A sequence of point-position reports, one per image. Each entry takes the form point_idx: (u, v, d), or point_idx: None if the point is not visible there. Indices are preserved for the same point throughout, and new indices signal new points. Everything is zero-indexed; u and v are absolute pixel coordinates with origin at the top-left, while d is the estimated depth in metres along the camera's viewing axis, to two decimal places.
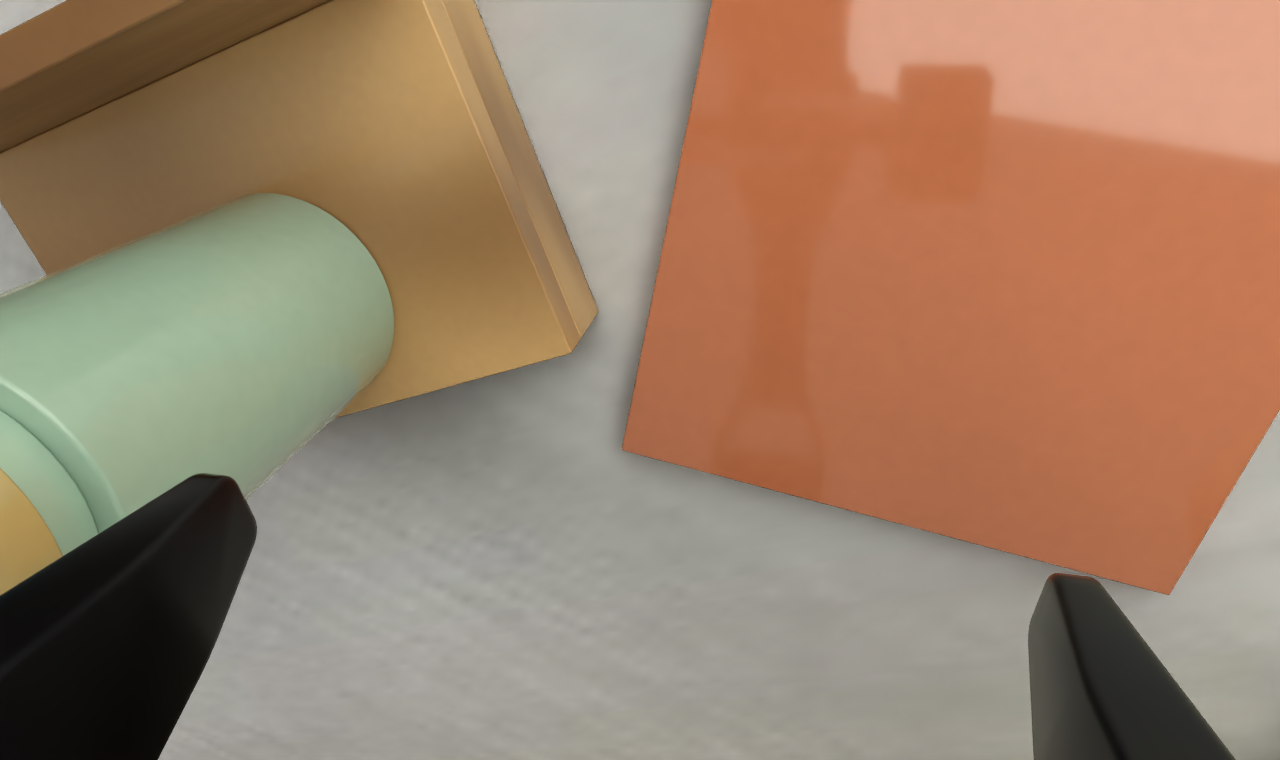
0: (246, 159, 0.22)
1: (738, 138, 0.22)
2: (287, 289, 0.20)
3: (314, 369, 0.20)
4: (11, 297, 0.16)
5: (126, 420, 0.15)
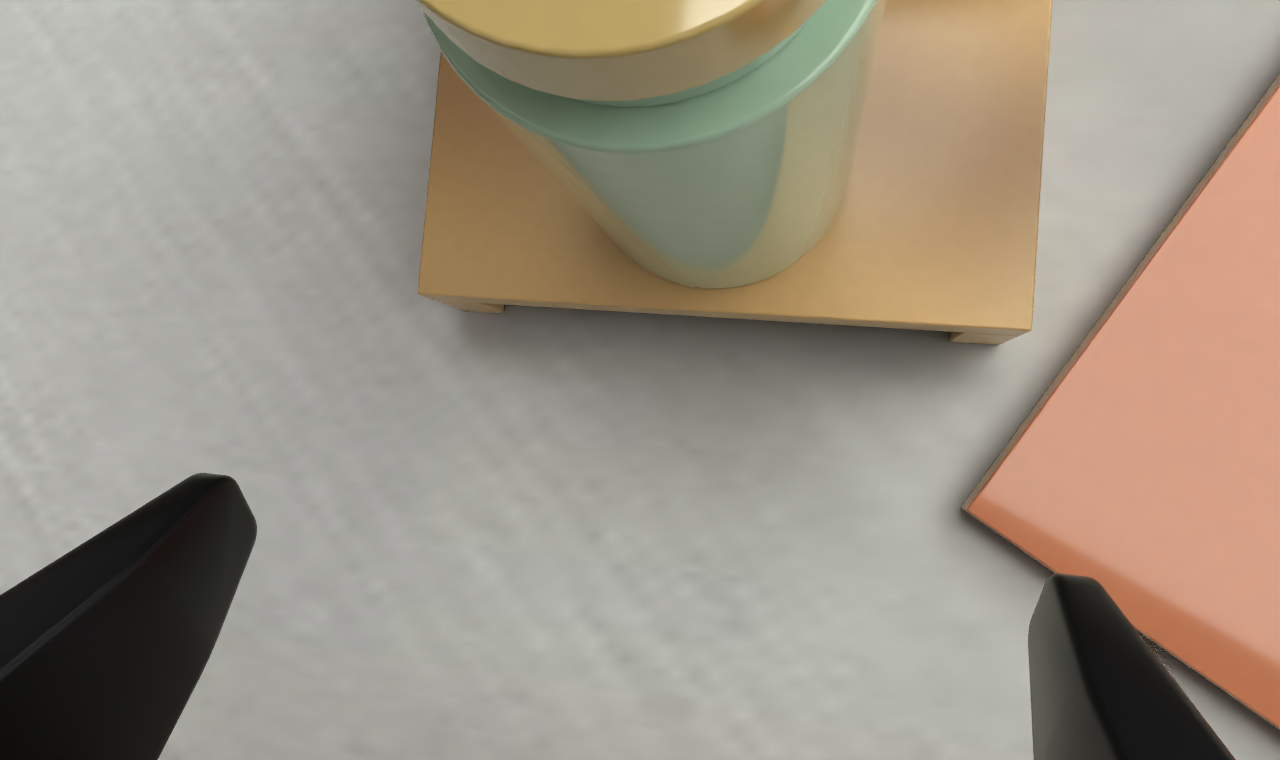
0: None
1: (1266, 204, 0.20)
2: None
3: (853, 145, 0.16)
4: None
5: None
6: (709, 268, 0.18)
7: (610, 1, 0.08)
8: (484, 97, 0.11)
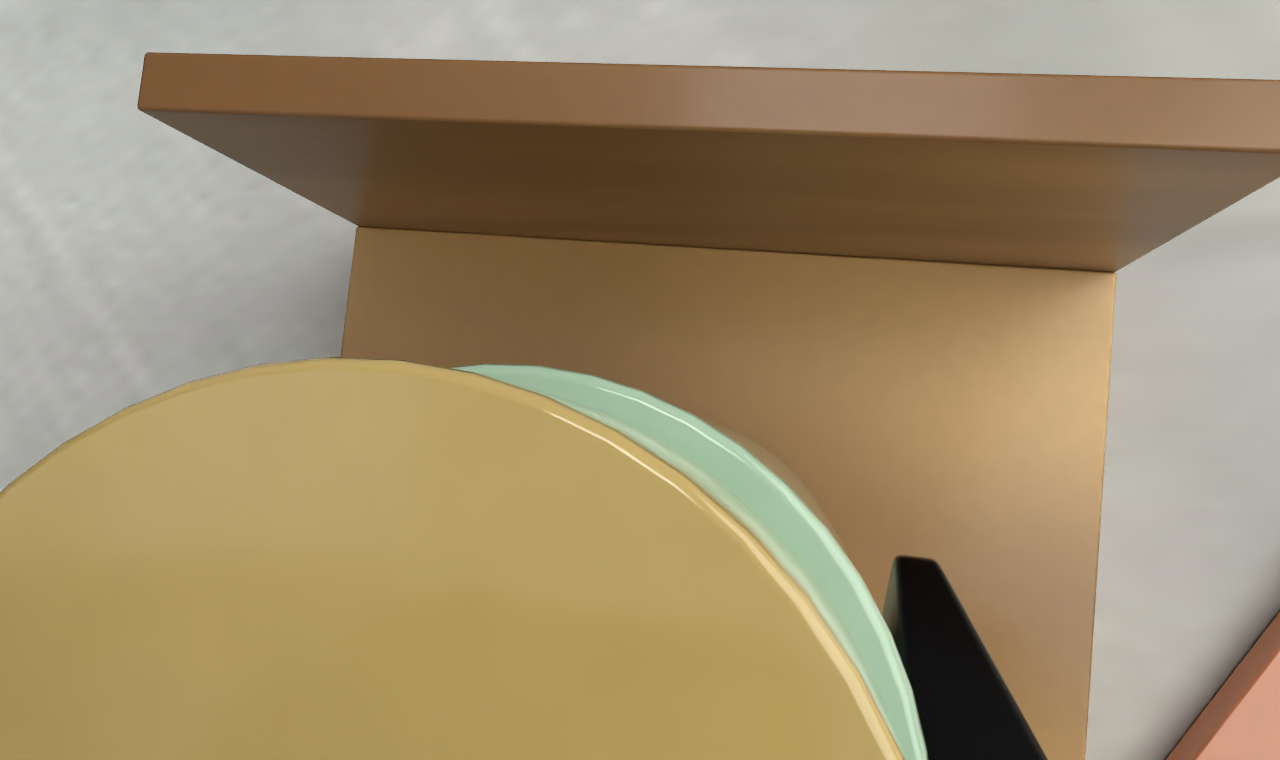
0: (741, 384, 0.16)
1: None
2: None
3: None
4: None
5: None
6: None
7: None
8: None
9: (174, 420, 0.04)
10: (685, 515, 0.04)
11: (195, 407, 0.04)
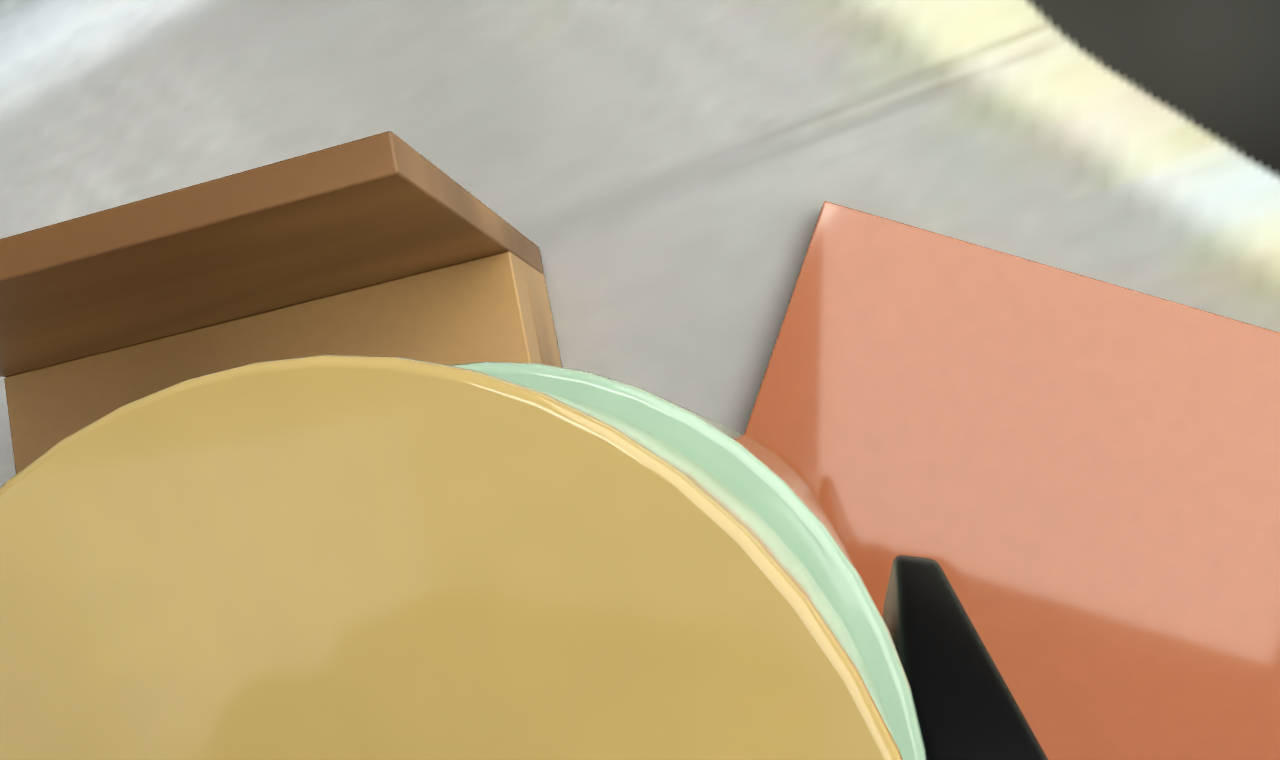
0: None
1: (792, 460, 0.22)
2: None
3: None
4: None
5: None
6: None
7: None
8: None
9: (172, 417, 0.04)
10: (682, 511, 0.04)
11: (193, 404, 0.04)
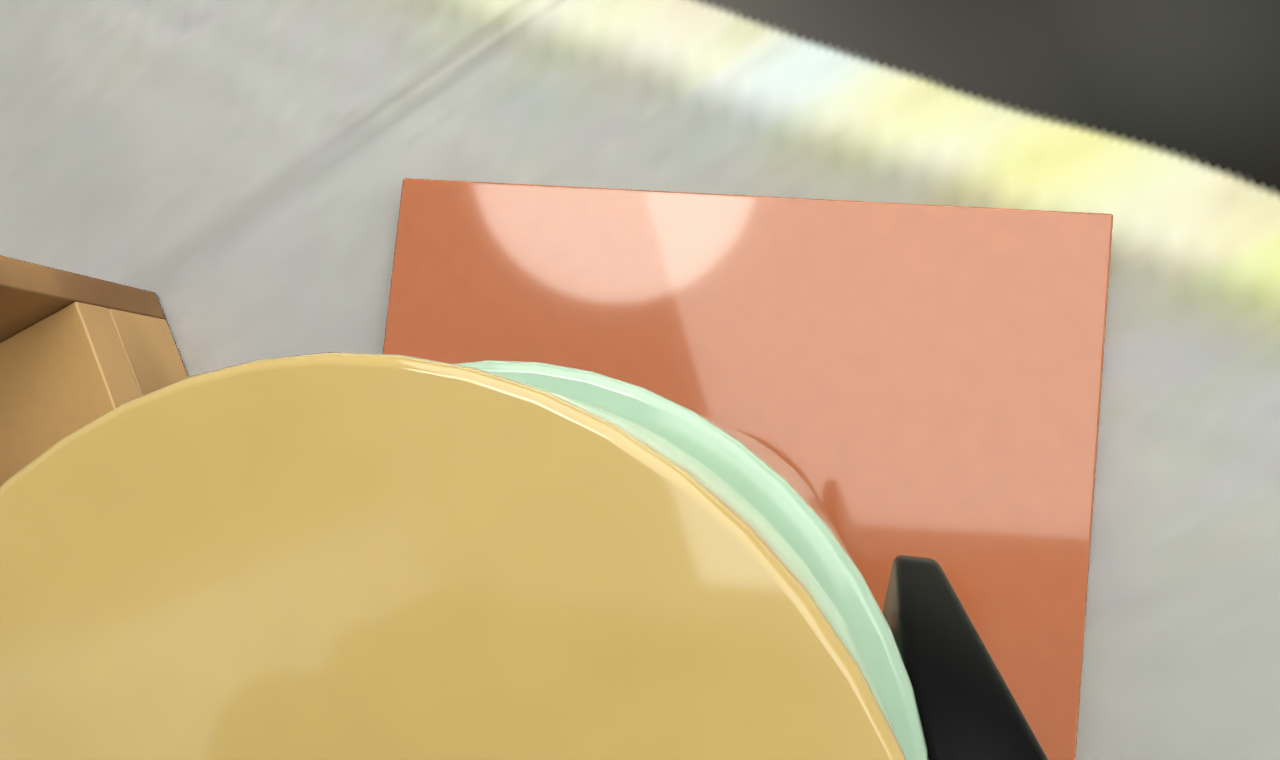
0: None
1: None
2: None
3: None
4: None
5: None
6: None
7: None
8: None
9: (173, 415, 0.04)
10: (684, 510, 0.04)
11: (194, 402, 0.04)
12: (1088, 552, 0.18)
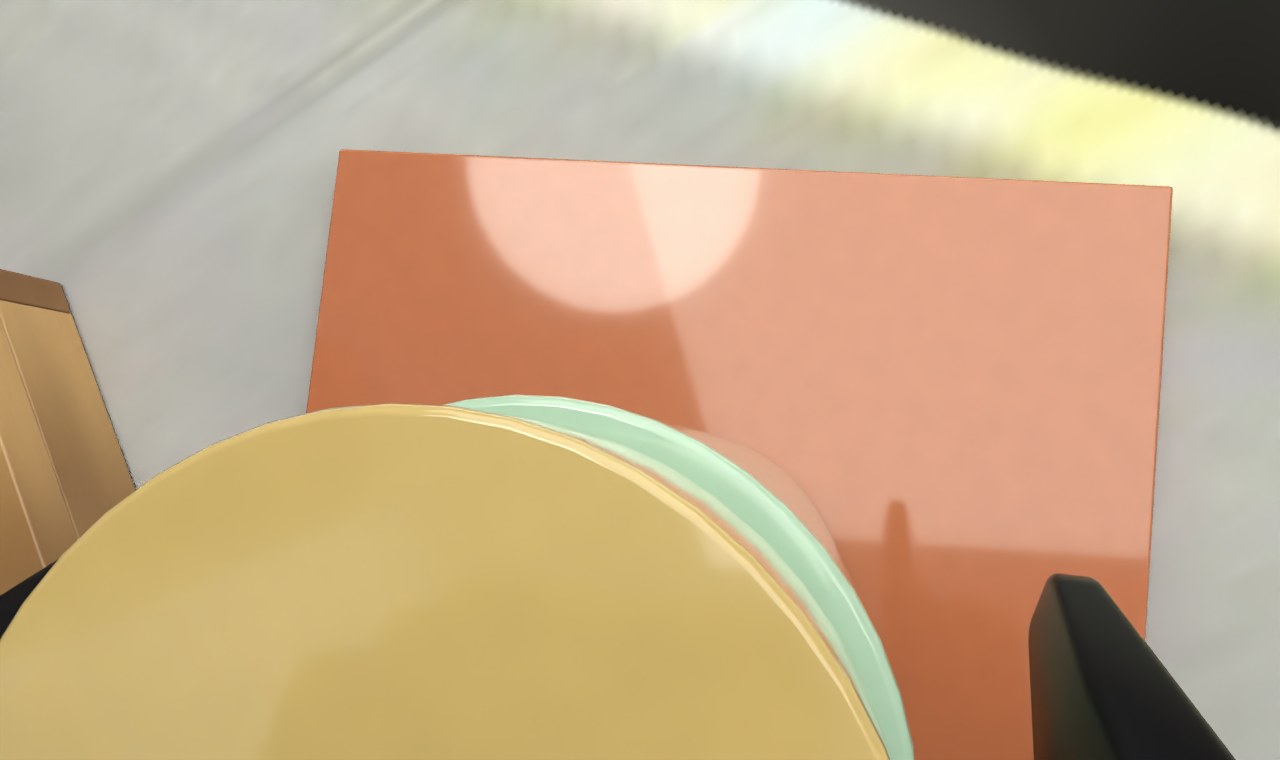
0: None
1: None
2: None
3: None
4: (686, 428, 0.09)
5: None
6: None
7: None
8: None
9: (252, 457, 0.05)
10: (700, 543, 0.04)
11: (271, 446, 0.05)
12: (1146, 590, 0.15)
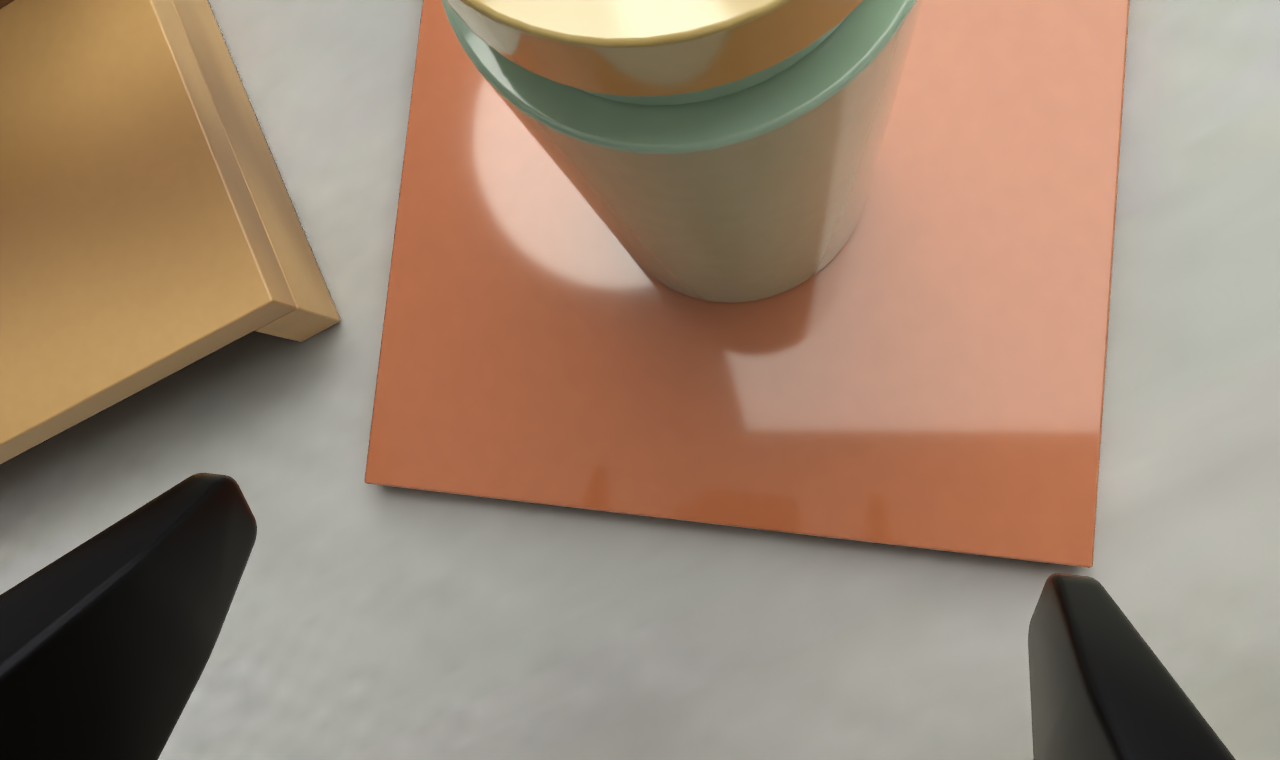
0: None
1: (463, 86, 0.21)
2: None
3: (877, 156, 0.15)
4: None
5: None
6: (726, 280, 0.17)
7: None
8: (505, 93, 0.10)
9: None
10: None
11: None
12: (1119, 140, 0.19)
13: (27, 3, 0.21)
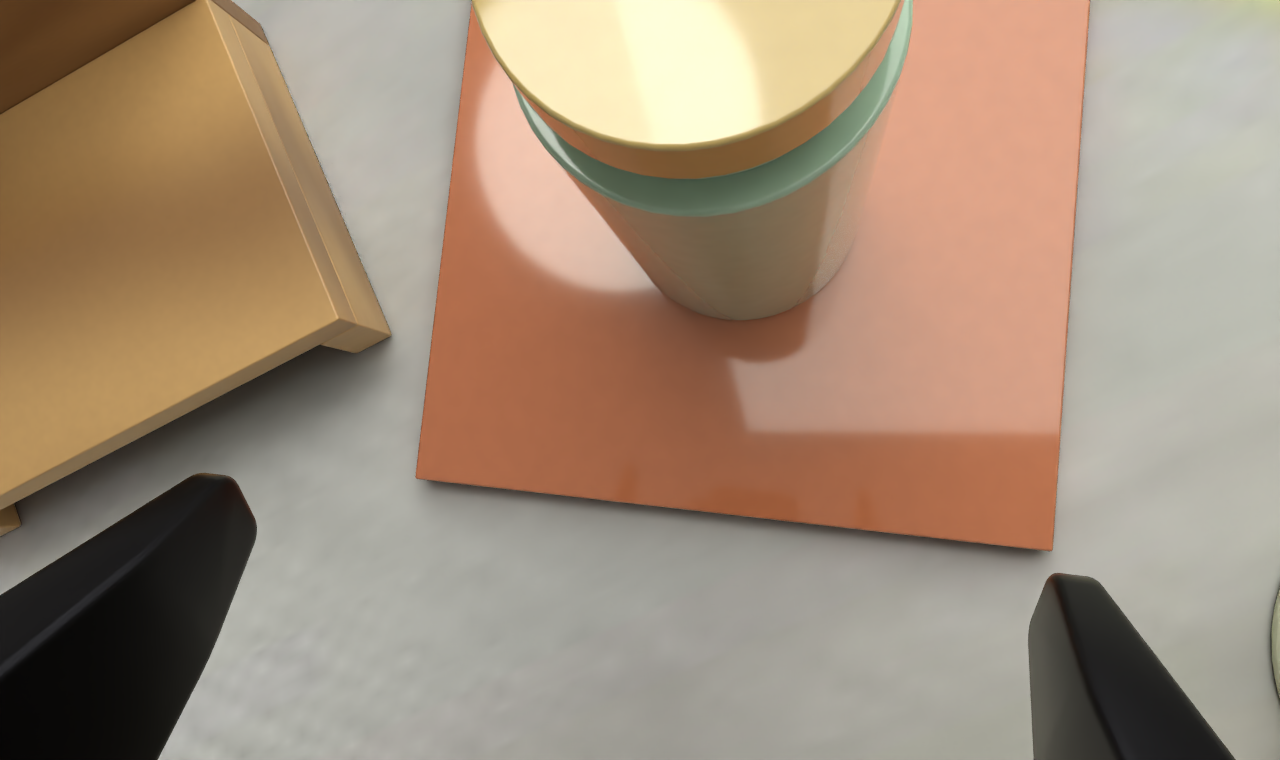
0: (44, 182, 0.24)
1: (502, 127, 0.24)
2: None
3: (864, 200, 0.18)
4: None
5: None
6: (735, 303, 0.20)
7: (685, 108, 0.11)
8: (567, 167, 0.13)
9: None
10: None
11: None
12: (1076, 180, 0.22)
13: (118, 55, 0.24)
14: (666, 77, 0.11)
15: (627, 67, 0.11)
